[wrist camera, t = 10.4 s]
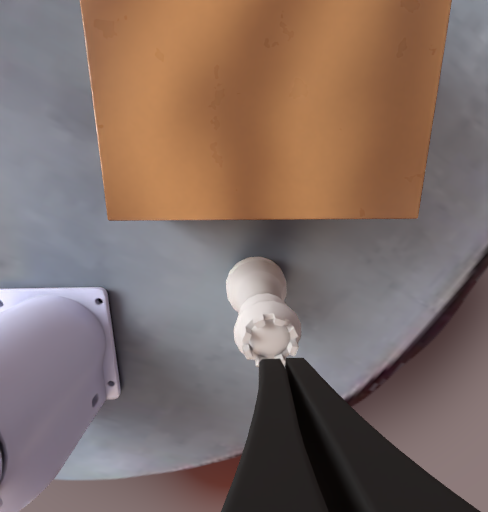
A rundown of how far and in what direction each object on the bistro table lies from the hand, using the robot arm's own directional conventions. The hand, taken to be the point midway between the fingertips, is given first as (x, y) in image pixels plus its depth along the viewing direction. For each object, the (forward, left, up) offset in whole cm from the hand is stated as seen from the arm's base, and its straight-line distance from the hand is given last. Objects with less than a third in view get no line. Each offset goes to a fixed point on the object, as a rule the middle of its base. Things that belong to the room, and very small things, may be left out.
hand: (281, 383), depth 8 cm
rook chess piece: (0, 0, -11) cm, 11 cm away
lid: (+11, 0, -5) cm, 12 cm away
